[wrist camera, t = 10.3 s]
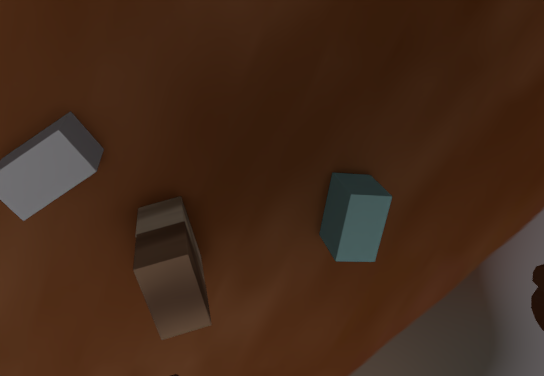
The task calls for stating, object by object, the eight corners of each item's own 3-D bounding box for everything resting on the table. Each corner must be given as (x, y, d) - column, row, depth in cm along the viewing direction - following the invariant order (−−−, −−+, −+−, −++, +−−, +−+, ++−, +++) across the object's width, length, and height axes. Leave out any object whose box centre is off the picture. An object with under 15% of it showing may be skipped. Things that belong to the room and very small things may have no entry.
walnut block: (136, 234, 33) (133, 270, 29) (184, 221, 34) (187, 254, 30) (161, 299, 36) (161, 340, 32) (205, 286, 36) (211, 324, 32)
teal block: (331, 172, 40) (351, 194, 36) (369, 174, 41) (392, 196, 37) (318, 233, 42) (335, 261, 38) (354, 234, 43) (374, 261, 39)
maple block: (138, 208, 37) (135, 236, 33) (181, 196, 38) (183, 222, 34) (161, 268, 40) (161, 300, 36) (201, 256, 40) (205, 287, 36)
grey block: (70, 110, 33) (58, 129, 29) (103, 148, 35) (96, 171, 31) (3, 157, 34) (-19, 182, 30) (39, 192, 35) (23, 220, 31)
